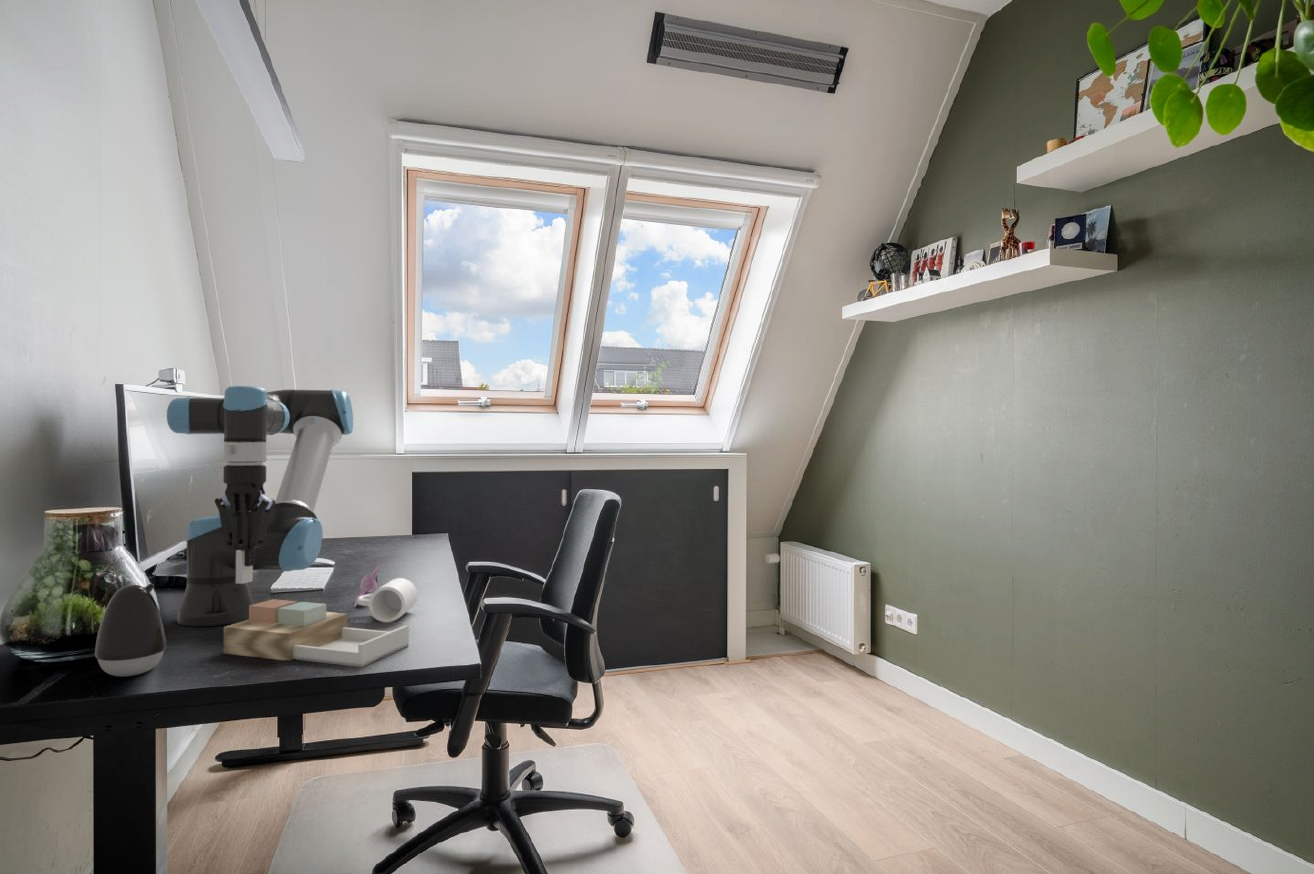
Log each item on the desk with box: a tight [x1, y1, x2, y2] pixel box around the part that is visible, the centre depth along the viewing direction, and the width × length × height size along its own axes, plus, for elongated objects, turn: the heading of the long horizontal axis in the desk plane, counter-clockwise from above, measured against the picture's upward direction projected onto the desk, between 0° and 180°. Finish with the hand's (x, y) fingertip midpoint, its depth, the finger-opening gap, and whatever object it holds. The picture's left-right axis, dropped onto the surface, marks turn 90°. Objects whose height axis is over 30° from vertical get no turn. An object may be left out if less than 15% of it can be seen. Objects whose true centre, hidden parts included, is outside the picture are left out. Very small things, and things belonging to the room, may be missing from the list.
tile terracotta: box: [248, 598, 298, 624], centre depth 151 cm, size 6×6×3 cm
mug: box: [357, 577, 418, 623], centre depth 173 cm, size 12×10×8 cm
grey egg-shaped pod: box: [94, 583, 167, 678], centre depth 133 cm, size 10×10×15 cm
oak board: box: [223, 611, 349, 662], centre depth 150 cm, size 15×16×5 cm
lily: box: [353, 563, 385, 608], centre depth 187 cm, size 12×12×10 cm
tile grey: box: [278, 601, 327, 626], centre depth 149 cm, size 6×6×3 cm
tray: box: [292, 625, 410, 668], centre depth 146 cm, size 15×14×4 cm
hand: (244, 582), depth 152 cm, fingers closed
